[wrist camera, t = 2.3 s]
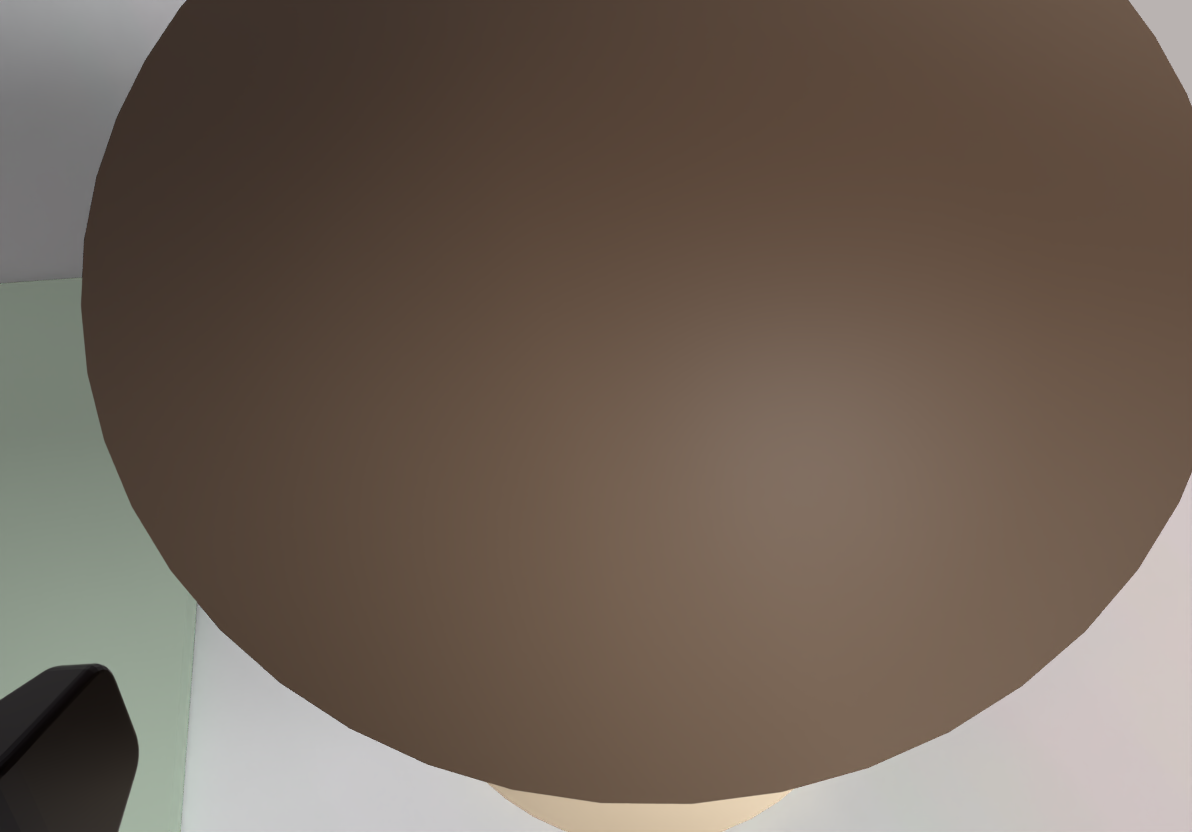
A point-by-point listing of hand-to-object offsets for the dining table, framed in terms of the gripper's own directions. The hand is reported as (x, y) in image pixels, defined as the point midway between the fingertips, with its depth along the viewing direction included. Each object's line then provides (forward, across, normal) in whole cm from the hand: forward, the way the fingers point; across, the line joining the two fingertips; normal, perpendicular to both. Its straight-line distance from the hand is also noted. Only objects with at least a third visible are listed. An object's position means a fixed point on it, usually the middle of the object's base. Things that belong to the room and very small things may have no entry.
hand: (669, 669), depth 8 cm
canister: (+8, 0, +5) cm, 9 cm away
